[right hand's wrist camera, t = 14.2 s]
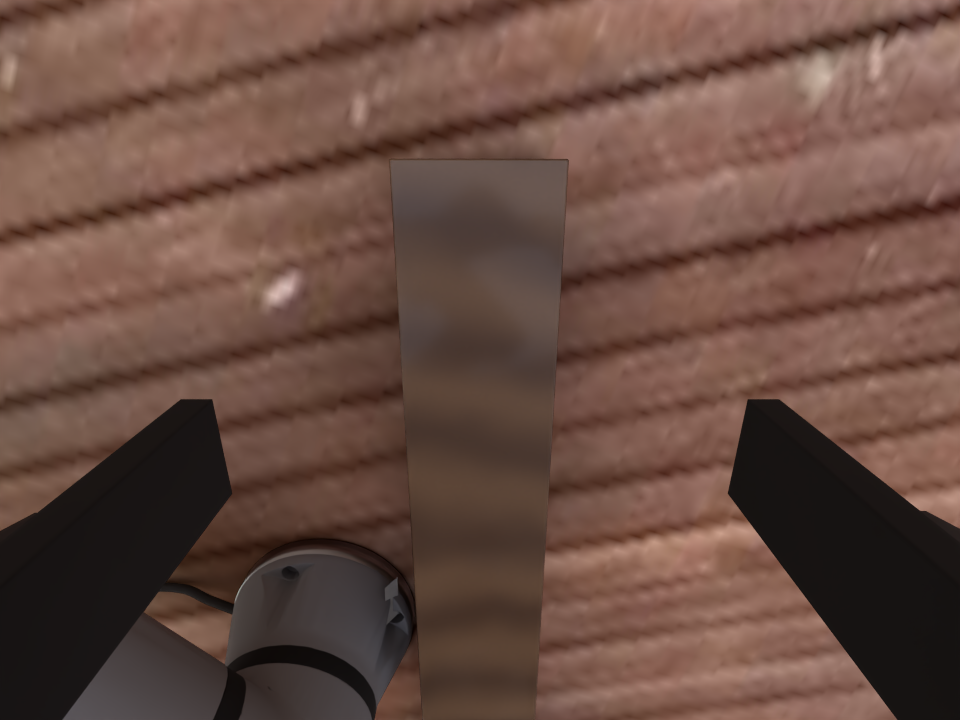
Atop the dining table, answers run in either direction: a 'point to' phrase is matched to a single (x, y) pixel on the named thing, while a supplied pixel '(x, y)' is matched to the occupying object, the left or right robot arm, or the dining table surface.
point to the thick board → (478, 418)
